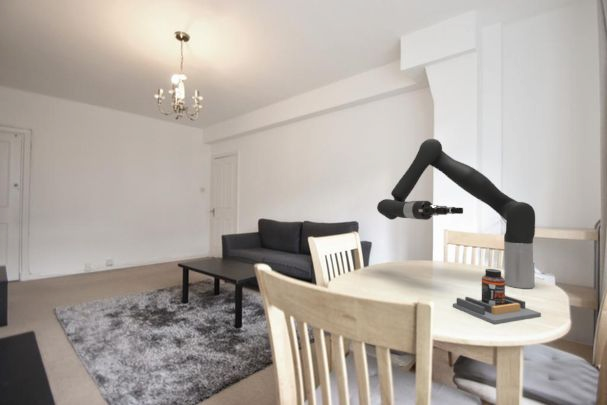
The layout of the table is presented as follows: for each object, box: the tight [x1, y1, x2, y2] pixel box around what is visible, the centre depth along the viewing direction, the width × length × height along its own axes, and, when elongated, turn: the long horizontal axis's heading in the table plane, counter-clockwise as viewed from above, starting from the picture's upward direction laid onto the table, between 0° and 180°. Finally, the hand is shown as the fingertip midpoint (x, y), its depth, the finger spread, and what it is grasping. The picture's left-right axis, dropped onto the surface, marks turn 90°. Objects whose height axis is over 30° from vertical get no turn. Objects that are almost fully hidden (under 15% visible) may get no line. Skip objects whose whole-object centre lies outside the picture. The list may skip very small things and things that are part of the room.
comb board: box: [452, 295, 542, 325], centre depth 88 cm, size 18×14×3 cm
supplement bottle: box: [481, 268, 506, 306], centre depth 88 cm, size 6×6×11 cm
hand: (455, 210), depth 104 cm, fingers open, 8 cm apart
